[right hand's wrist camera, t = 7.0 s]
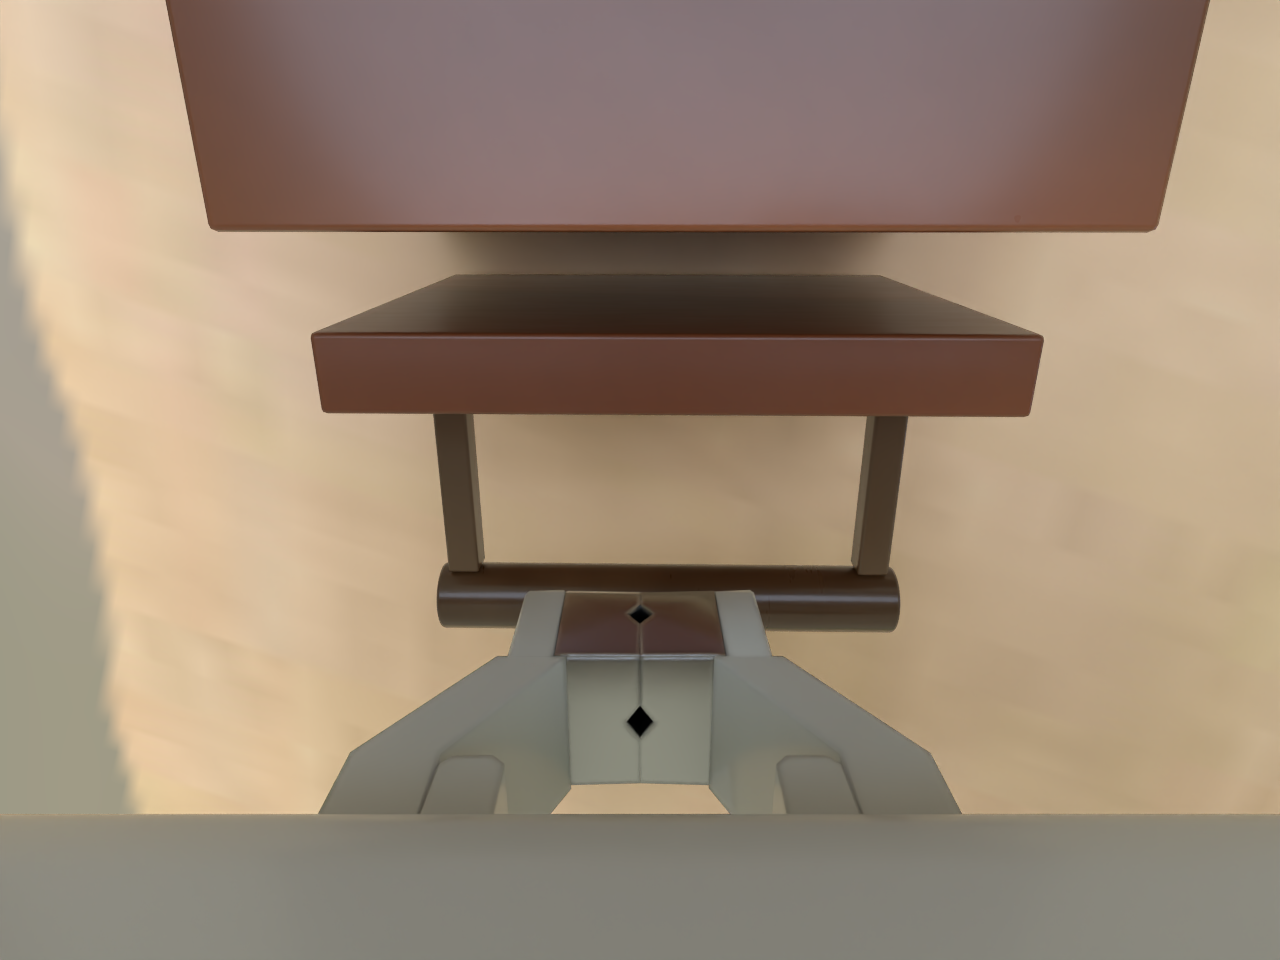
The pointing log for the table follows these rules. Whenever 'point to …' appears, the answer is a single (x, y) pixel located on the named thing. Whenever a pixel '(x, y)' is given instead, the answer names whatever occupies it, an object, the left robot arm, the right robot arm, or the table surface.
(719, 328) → the drawer
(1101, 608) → the table surface
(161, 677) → the table surface
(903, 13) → the cabinet
